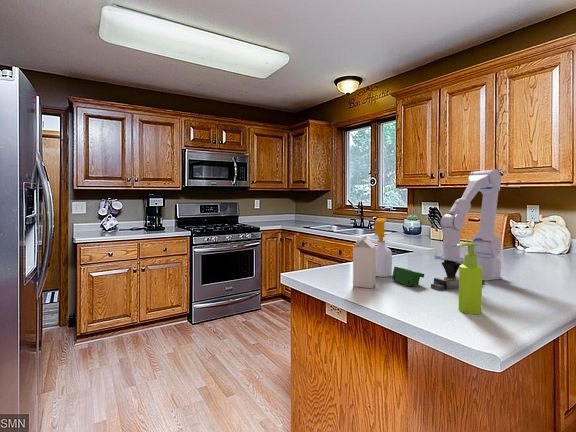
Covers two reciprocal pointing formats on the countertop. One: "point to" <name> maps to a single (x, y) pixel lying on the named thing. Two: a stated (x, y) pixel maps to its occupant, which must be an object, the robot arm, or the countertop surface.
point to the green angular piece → (406, 276)
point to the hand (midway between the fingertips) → (450, 280)
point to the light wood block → (451, 278)
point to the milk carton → (364, 263)
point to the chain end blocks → (446, 284)
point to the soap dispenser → (470, 282)
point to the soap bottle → (382, 251)
